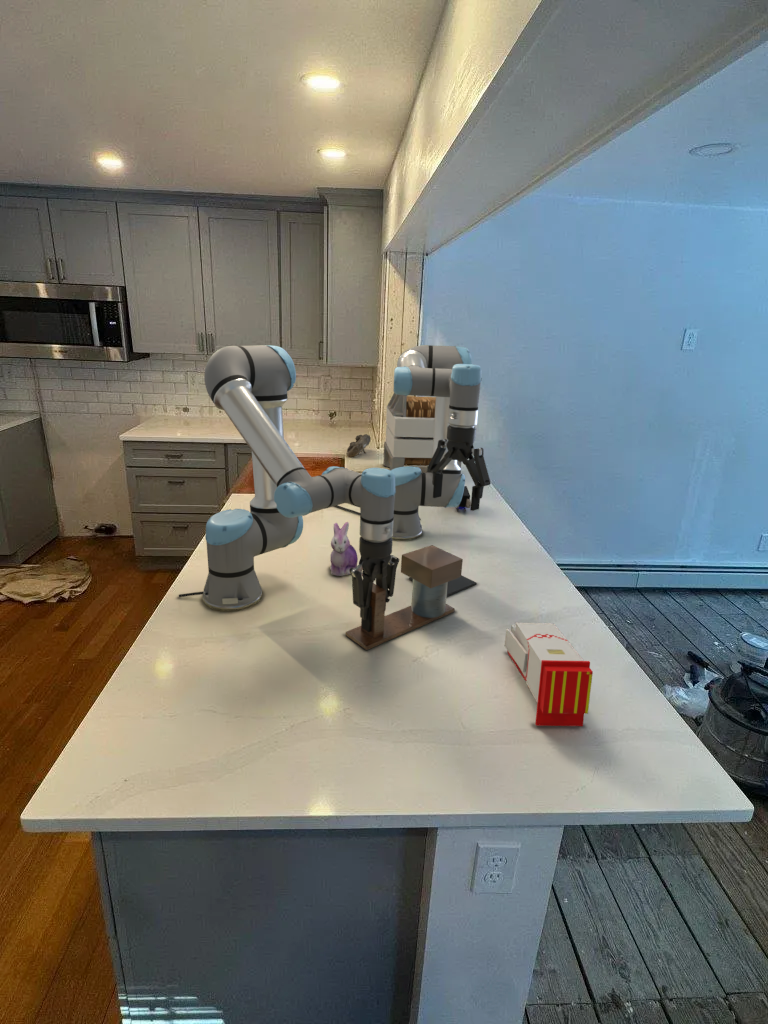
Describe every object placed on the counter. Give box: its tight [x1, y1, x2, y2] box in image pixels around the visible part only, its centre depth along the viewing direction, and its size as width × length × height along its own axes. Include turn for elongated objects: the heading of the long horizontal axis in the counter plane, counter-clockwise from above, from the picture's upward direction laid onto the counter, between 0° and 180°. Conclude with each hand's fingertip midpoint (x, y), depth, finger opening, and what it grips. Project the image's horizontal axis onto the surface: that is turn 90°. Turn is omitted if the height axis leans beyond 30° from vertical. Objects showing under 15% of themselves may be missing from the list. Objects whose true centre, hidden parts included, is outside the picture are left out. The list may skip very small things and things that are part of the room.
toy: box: [503, 622, 594, 727], centre depth 121 cm, size 12×13×30 cm
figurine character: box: [454, 485, 471, 513], centre depth 228 cm, size 7×8×15 cm
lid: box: [400, 544, 464, 588], centre depth 144 cm, size 11×11×5 cm
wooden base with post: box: [345, 579, 455, 651], centre depth 141 cm, size 30×9×13 cm, turn 131°
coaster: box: [408, 574, 477, 598], centre depth 166 cm, size 14×14×1 cm
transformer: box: [383, 392, 462, 471], centre depth 268 cm, size 34×33×41 cm
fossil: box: [346, 433, 372, 458], centre depth 305 cm, size 22×10×15 cm
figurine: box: [329, 521, 359, 577], centre depth 168 cm, size 9×10×15 cm
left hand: (372, 626), depth 136 cm, fingers closed on wooden base with post, 3 cm apart
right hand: (455, 503), depth 154 cm, fingers open, 13 cm apart
